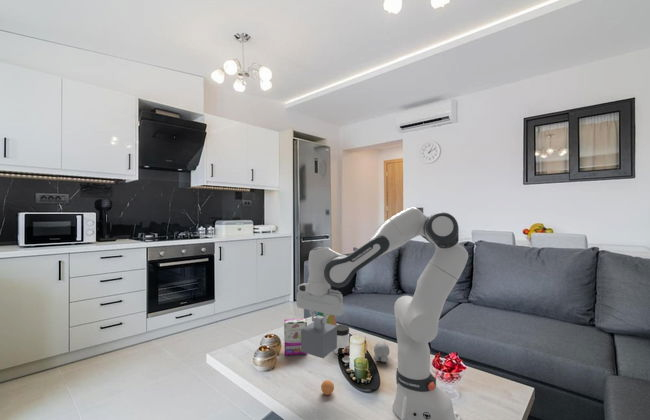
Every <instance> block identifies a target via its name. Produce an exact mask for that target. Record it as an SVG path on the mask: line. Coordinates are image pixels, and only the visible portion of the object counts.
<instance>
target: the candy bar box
mask: <svg viewBox="0 0 650 420" xmlns="http://www.w3.org/2000/svg"><path fill="white" fill-rule="evenodd" d="M307 321H308V320H307V318H292V319H291V318H289V319H287V318H286V319H284V323H283V324H284V329H283V331H284V334H283V335H284V336H283V337H284V356H285V357H289V356H304V355H305V356H306V355H307V353H304V352H301V329H302V328H304V327H306V326H308V323H307Z"/></svg>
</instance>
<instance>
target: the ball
mask: <svg viewBox="0 0 650 420" xmlns="http://www.w3.org/2000/svg"><path fill="white" fill-rule="evenodd" d="M320 390H321V392H322V393H323V394H324V395H326V396H329V395H331V394H332V393H334V390H335V385H334V383H333V382H332V381H331V380H330V379H325V380H324V381H322V383H321V386H320Z"/></svg>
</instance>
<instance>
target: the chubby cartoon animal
mask: <svg viewBox="0 0 650 420" xmlns="http://www.w3.org/2000/svg"><path fill="white" fill-rule="evenodd" d="M373 352H374V355H373V361H376V362H380V361H381V362H382V363H388V357H389V355H390V348H389V344H387V343H386V342H383V341H378V342H377V343H376V344H375V345H374V347H373Z"/></svg>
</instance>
